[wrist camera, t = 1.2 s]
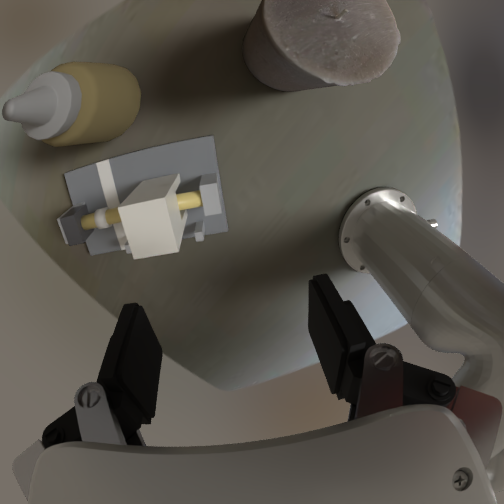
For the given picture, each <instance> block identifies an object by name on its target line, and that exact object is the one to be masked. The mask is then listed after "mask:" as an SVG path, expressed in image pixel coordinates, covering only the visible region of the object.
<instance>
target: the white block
mask: <svg viewBox="0 0 504 504" xmlns="http://www.w3.org/2000/svg"><path fill="white" fill-rule="evenodd" d="M180 182H181V180H180V175H179V173H177V174H172V175H167V176H163V177H158V178H153V179H149V180H144V181H142V182H141V183H140V184H139V185H138V186H137V187H136V188H135V189H134V191H133V192H132V193H131V194H130V195H129V196H128V197H127V198H126V199H125V200H124V201H123V202H122V203H121V205H120V206H119V207H118V211H119V214H120V218H121V221H122V224H123V227H124V231H125V234H126V237H127V240H128V243H129V246H130V249H131V252H132V255H133V258H134V259H140V258H146V257H152V256H158V255H164V254H170V253H176V252H179V248H180V244H181V240H182V236H183V232H184V228H185V224H186V220H187V216H188V214H187V209H185V210H179V206H178V201H177V197H176V190H177V188H178V186H179V184H180Z"/></svg>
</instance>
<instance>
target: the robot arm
mask: <svg viewBox="0 0 504 504" xmlns="http://www.w3.org/2000/svg"><path fill="white" fill-rule="evenodd" d="M436 228H437V221H436V220H435V219H431V220H427V221H426V220H425V219H423V218H422V217H420V216H419V215H417V211H416V208H415V205H414V204H413V202H412V200H411V199H410V198H409V197H408V196H407V195H406V194H404V193H403V192H401V191H399V190H397V189H395V188H390V187H381V188H376V189H373V190H370V191H368V192H367V193H365V194H363V195H362V196H361V197H359V198H358V199H357V200H356V201H355V202H354V203H353V204H352V205H351V206H350V208H349V209H348V211H347V212H346V214H345V216H344V218H343V221H342V223H341V227H340V230H339V248H340V251H341V254H342V256H343V257H344V259H345V261H346V262H347V263H348V264H349V266H351V267H352V268H353V269H354V270H356V271H358V272H361V273H367V274H371V275H372V276H373V277H374V279H375V280H376V281H377V282H378V284H379V285H380V286H381V288H382V289H383V290H384V291H385V293H386V294H387V295H388V297H389V298H390V299H391V301H392V302H393V303H394V304H395V306H396V307H397V308H398V310H399V311H400V313H401V314H402V315H403V317H404V318H405V319H406V321H407V322H408V323H409V325H410V326H411V328H412V329H413V330H414V332H415V333H416V334H417V336H418V337H419V338H420V340H421V341H422V342H423V343H424V344H425V345H426V346H427V347H429V348H431V349H432V350H435V351H438V352H443V353H460V354H462V355H463V356H464V358H465V360H464V363H463V365H462V366H461V368H460V369H459V370H458V371H457V372H456V374H455V375H454V377H453V378H452V379H451V378H450V377H449V376H447V375H445V374H442V373H439V372H435V371H432V370H429V369H426V368H423V367H420V366H417V365H413V364H410V363H407V362H404V361H403V357H402V354H401V352H400V350H398V349H397V348H396V347H395V346H393V345H390V344H386V343H380V344H376V343H375V341H374V339H373V338H372V336H371V334H370V332H369V331H368V329H367V327H366V326H365V324H364V322H363V320H362V319H361V317H360V315H359V314H358V312H357V310H356V309H355V307H354V305H353V304H352V302H351V301H349V300H347V301H343V300H342V298H341V297H340V295H339V293H338V291H337V290H336V288H335V286H334V285H333V283H332V281H331V280H330V278H329V276H328V275H327V274H321V275H316V276H313V280H309V313H308V329H309V333H310V336H311V339H312V341H313V344H314V347H315V349H316V352H317V355H318V358H319V360H320V363H321V366H322V368H323V371H324V374H325V376H326V379H327V382H328V385H329V388H330V391H331V393H332V394H337V397H338V400H340V399H343V398H345V400H346V402H349V403H351V405H350V411H349V416H348V421H347V422H344V423H341V424H337V425H333V426H330V427H325V428H322V429H317V430H313V431H309V432H305V433H300V434H295V435H290V436H284V437H279V438H273V439H266V440H260V441H253V442H245V443H237V444H225V445H213V446H191V447H153V446H146V444H145V442H144V440H143V437H142V435H141V432H140V430H139V429H140V428H141V424H151V418H154V416H155V410H156V401H157V392H158V384H159V376H160V369H161V361H162V348H161V346H160V344H159V342H158V339H157V337H156V335H155V333H154V331H153V329H152V327H151V324H150V322H149V320H148V318H147V316H146V313H145V311H144V309H143V307H142V306H139V305H138V304H137V303H130V304H124V306H123V308H122V311H121V313H120V316H119V319H118V322H117V324H116V327H115V330H114V333H113V335H112V336H111V338H110V341H109V344H108V347H107V350H106V353H105V356H104V359H103V362H102V365H101V369H100V372H99V375H98V379H97V382H89V383H86V384H84V385H82V386H81V387H80V388H79V389H78V390H77V392H76V394H75V397H74V403H75V406H74V407H73V408H72V409H70V410H69V411H68V412H66V413H65V414H63V415H62V416H61V417H59V418H58V419H57V420H55V421H54V422H52V423H51V424H50V425H48V426H47V427H46V429H45V430H44V432H43V435H42V441H41V440H37V441H36V442H35V443H34V444H33V445H31V446H30V447H29V448H28V449H26V450H25V451H24V452H23V453H22V454H20V455H19V456H18V457H17V458H16V459H15V460H14V462H13V473H14V475H15V477H16V479H17V481H18V483H19V485H20V487H21V489H22V491H23V493H24V495H25V497H26V499H27V501H28V504H497V501H496V498H495V494H494V493H497V492H500V491H503V490H504V283H503V282H501V281H500V280H499V279H498V278H496V277H495V276H494V275H493V274H492V273H491V272H490V271H488V270H487V269H486V268H485V267H484V266H483V265H481V264H480V263H479V262H478V261H476V260H475V259H474V258H473V257H471V256H470V255H469V254H468V253H466V252H465V251H464V250H463V249H462V248H460V247H459V246H458V245H456V244H455V243H454V242H453V241H451V240H450V239H449V238H447V237H446V236H445V235H443V234H442V233H441V232H439V231H438V230H437V229H436Z"/></svg>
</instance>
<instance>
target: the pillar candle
mask: <svg viewBox="0 0 504 504" xmlns="http://www.w3.org/2000/svg"><path fill="white" fill-rule="evenodd" d="M400 39H401V37H400V32H399V30H398V29H397V25H396V22H395V17H394V15H393V13H392V11H391V9H390V7H389V5H388V3H387V2H386V1H385V0H262V1H261V3H260V5H259V8H258V10H257V12H256V14H255V16H254V18H253V20H252V22H251V24H250V26H249V29H248V30H247V33H246V35H245V37H244V40H243V48H242V51H243V57H244V60H245V63H246V65H247V67H248V69H249V70H250V72H251V73H252V74H253V76H254V77H255V78H257V79H258V80H259V81H260V82H262V83H263V84H265V85H267V86H269V87H271V88H274V89H277V90H281V91H300V90H307V89H315V88H322V87H330V86H337V85H338V86H347V85H352V86H353V85H354V84H359V83H368V82H370V81H371V79H374V78H378V77H380V76H381V74H382V73H383V72H385V71H386V69H387V68H389V67H390V65H391V64H392V61H393V60H394V57H395V56H396V54H397V48H398V44H399V43H400Z"/></svg>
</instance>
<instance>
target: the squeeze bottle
mask: <svg viewBox="0 0 504 504" xmlns="http://www.w3.org/2000/svg"><path fill="white" fill-rule="evenodd" d="M140 100H141V91H140V88H139V84H138V81H137V79H136V77H135V76H134V75H133V74H132V73H131V72H130V71H129V70H128V69H126V68H123V67H120V66H117V65H114V64H104V63H91V62H70V63H65V64H61V65H58V66H57V67H55V68H54V69H53V70H51V71H50V72H47V73H43V74H41V75H39V76H38V77H37V78H35V79H34V80H33V81H32V82H31V83H30V85H29V86H28V87H27V89H26V90H25V92H24V94H21V95H19V96H17V97H14V98H12V99H10V100H8V101H7V102H6V103H5V104H4V106H3V110H2V115H3V118H4V119H5V120H7V121H13V122H19V123H21V124H22V128H23V129H24V131H25V132H26V133H27V134H28V136H29V137H31V138H34V139H36V140H42V141H43V142H44V143H46V144H49V145H51V146H53V147H60V146H70V145H78V144H87V143H96V142H108V141H110V140H112V139H114V138H116V137H118V136H121V135H122V134H123V133H124V132H125V131H126V130H127V129H128V128H129V127H130V126H131V125H132V124H133V122H134V120H135V118H136V116H137V113H138V111H139V109H140Z"/></svg>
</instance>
